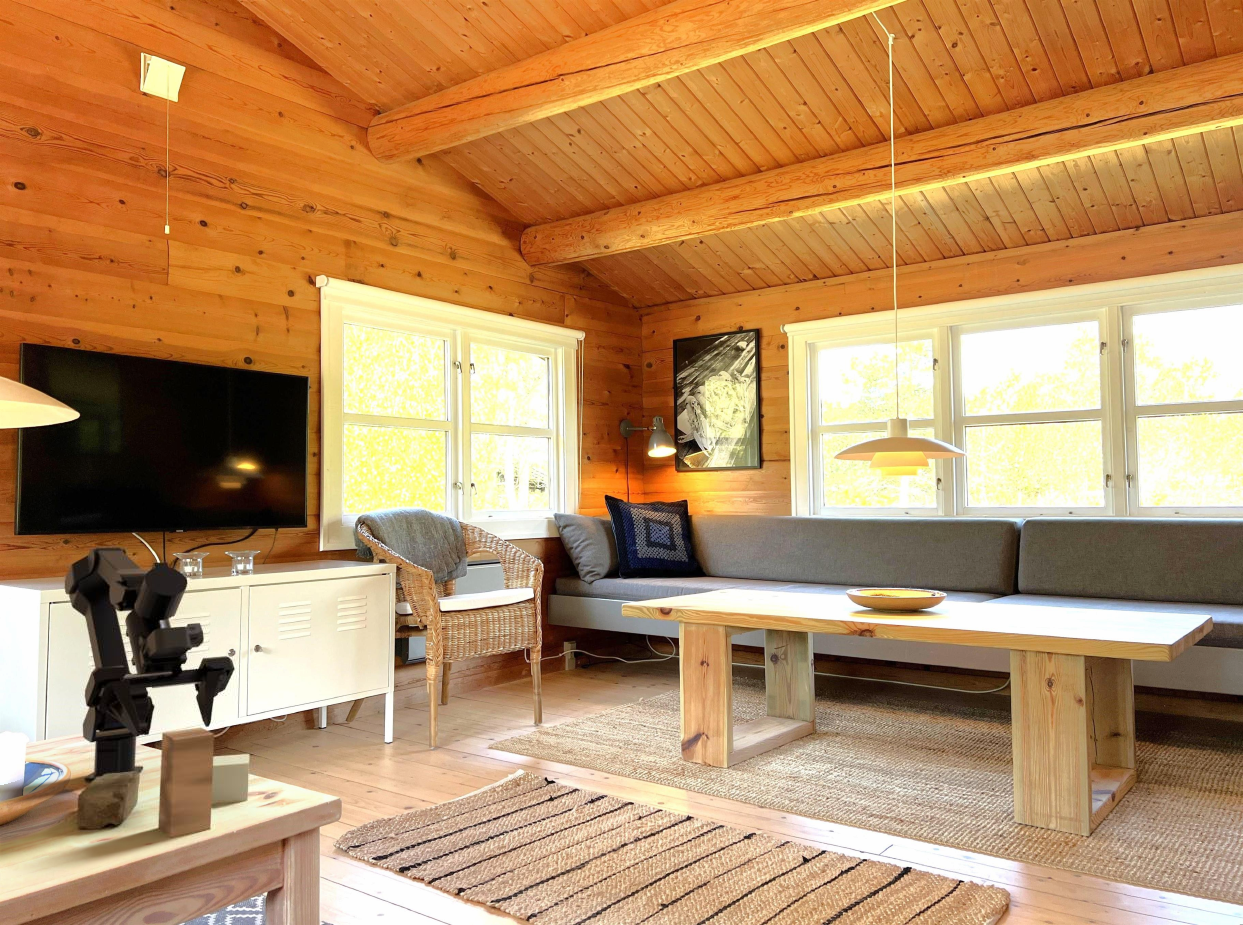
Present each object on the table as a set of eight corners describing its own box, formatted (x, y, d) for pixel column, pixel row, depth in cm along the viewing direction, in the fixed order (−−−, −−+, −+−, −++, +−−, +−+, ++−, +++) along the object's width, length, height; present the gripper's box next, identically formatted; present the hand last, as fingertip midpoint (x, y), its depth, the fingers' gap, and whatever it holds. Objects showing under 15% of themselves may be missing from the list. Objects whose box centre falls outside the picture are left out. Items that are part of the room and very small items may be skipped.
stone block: (140, 803, 135) (141, 768, 135) (122, 830, 124) (124, 791, 124) (95, 806, 133) (97, 771, 134) (73, 833, 122) (75, 795, 123)
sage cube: (208, 793, 140) (210, 756, 140) (248, 790, 142) (249, 754, 142) (206, 804, 135) (208, 766, 135) (247, 801, 137) (248, 763, 137)
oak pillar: (158, 827, 124) (162, 732, 125) (197, 819, 128) (201, 727, 129) (170, 837, 121) (174, 739, 121) (210, 829, 124) (214, 734, 125)
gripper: (94, 609, 128) (113, 703, 119) (232, 601, 140) (259, 686, 132) (76, 660, 133) (94, 753, 124) (211, 648, 146) (235, 733, 137)
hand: (174, 729), depth 129 cm, fingers open, 9 cm apart
